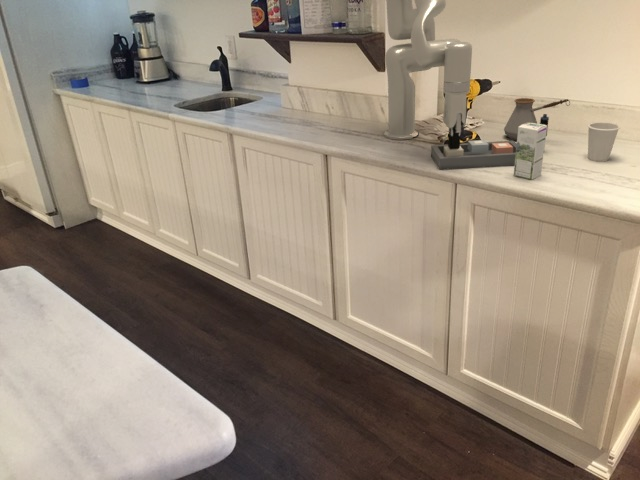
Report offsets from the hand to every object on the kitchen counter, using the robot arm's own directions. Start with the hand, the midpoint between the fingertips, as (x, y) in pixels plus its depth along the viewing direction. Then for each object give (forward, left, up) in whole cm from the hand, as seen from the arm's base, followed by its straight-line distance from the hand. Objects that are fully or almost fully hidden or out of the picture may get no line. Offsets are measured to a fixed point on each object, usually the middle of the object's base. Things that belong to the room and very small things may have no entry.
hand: (453, 147), depth 166 cm
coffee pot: (-18, +31, -5) cm, 36 cm away
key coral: (0, +15, -3) cm, 15 cm away
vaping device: (-5, +27, -5) cm, 28 cm away
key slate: (0, +7, -1) cm, 8 cm away
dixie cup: (+5, +42, -5) cm, 43 cm away
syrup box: (+16, +17, -5) cm, 24 cm away
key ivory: (0, 0, -3) cm, 3 cm away
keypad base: (0, +7, -4) cm, 9 cm away
